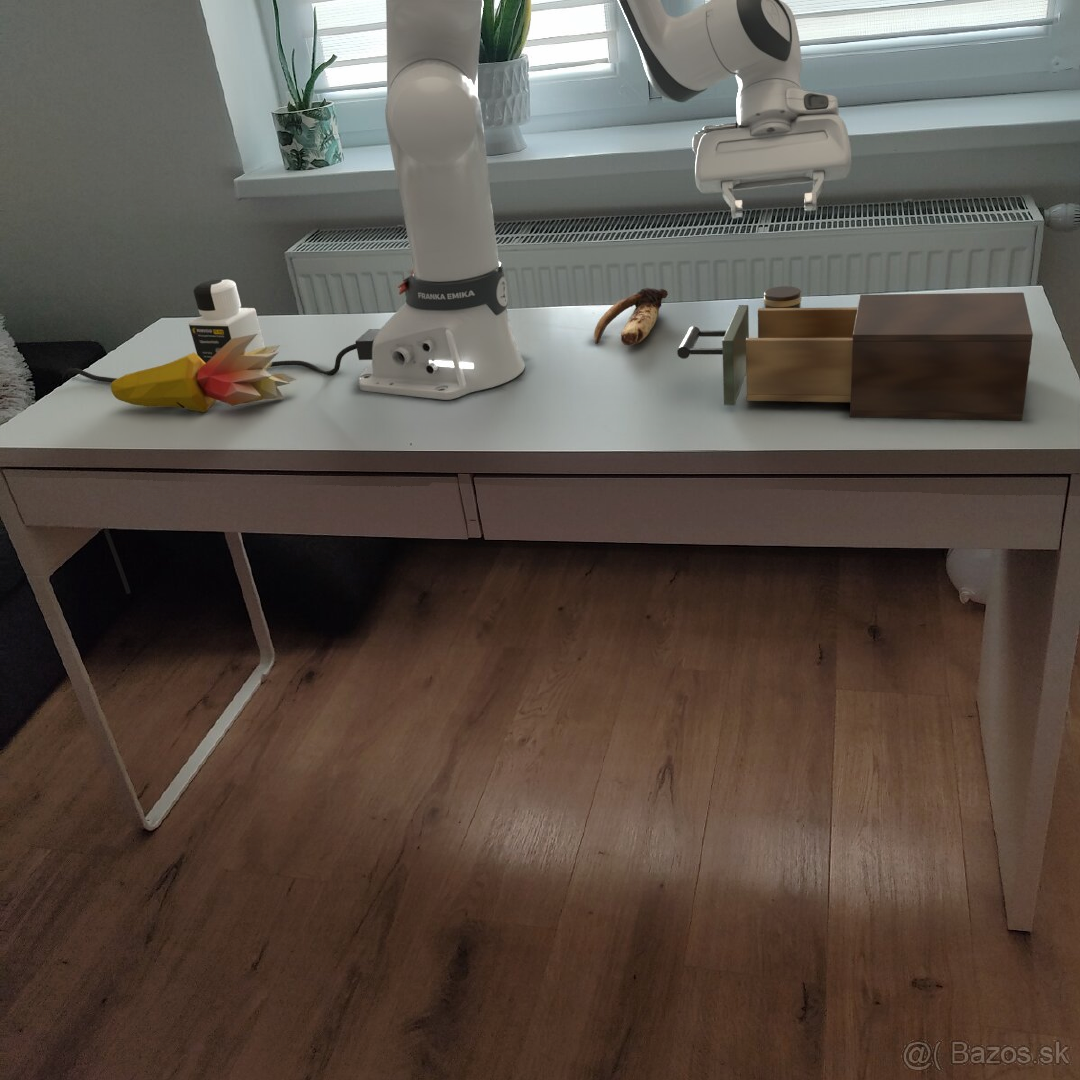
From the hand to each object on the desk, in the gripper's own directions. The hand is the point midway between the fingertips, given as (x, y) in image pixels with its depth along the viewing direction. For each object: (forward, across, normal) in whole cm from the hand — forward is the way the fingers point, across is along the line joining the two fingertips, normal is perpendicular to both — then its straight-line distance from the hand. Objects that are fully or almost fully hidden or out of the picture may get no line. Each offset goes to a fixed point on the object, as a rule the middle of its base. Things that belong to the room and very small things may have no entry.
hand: (773, 212), depth 140 cm
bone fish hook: (+11, -20, +10) cm, 25 cm away
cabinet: (+30, +17, -9) cm, 35 cm away
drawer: (+27, 0, -8) cm, 28 cm away
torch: (+24, -76, -7) cm, 80 cm away
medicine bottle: (+13, -80, +6) cm, 81 cm away
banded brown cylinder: (+18, 0, +3) cm, 18 cm away
